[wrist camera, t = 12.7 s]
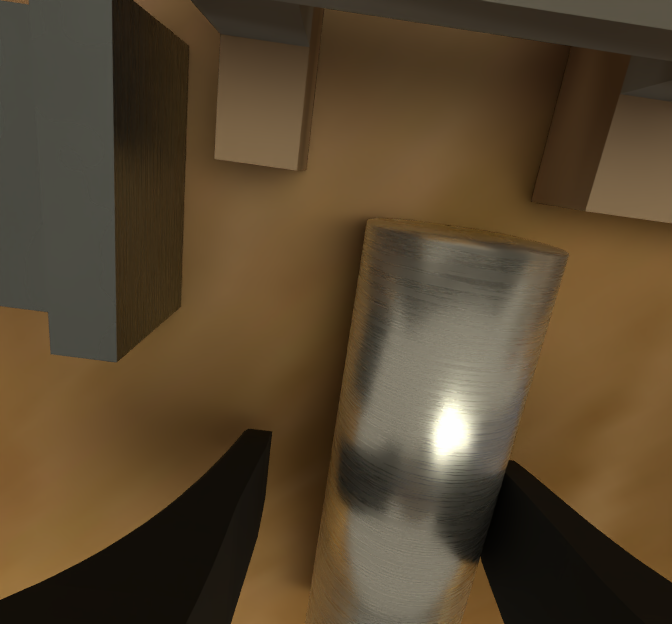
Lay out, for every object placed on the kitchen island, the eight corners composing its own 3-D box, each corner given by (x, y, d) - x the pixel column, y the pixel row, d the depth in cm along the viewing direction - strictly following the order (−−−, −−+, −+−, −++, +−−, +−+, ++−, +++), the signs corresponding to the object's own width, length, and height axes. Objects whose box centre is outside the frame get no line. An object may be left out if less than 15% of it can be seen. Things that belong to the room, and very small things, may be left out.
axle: (336, 212, 10) (439, 249, 7) (476, 226, 12) (617, 262, 8) (284, 609, 14) (333, 765, 10) (396, 578, 15) (471, 705, 12)
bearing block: (264, -163, 9) (147, -682, 3) (864, -64, 9) (1600, -390, 4) (242, 160, 11) (143, 153, 5) (744, 231, 11) (1129, 291, 6)
